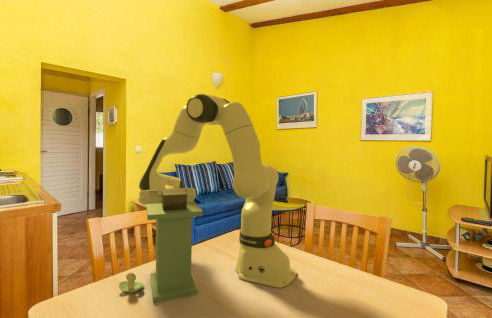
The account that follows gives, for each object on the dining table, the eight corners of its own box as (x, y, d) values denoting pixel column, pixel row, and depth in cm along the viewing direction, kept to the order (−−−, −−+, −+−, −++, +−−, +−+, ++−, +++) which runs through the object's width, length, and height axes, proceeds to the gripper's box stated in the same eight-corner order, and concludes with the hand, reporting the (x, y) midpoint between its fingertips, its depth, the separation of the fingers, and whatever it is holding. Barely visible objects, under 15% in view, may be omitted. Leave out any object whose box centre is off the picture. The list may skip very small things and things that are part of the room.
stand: (202, 293, 86) (203, 211, 84) (147, 303, 80) (147, 216, 78) (192, 271, 100) (194, 200, 97) (146, 278, 94) (146, 203, 91)
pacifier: (126, 284, 90) (116, 293, 84) (126, 265, 90) (116, 274, 84) (148, 285, 90) (139, 295, 84) (148, 267, 89) (139, 275, 83)
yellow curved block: (186, 209, 86) (187, 194, 85) (163, 210, 83) (163, 195, 82) (178, 190, 102) (178, 177, 101) (158, 191, 100) (159, 178, 98)
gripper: (138, 194, 106) (138, 181, 94) (191, 191, 114) (197, 179, 102) (138, 210, 104) (138, 199, 92) (192, 206, 111) (199, 195, 100)
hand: (170, 189), depth 97 cm, fingers closed on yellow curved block, 3 cm apart
